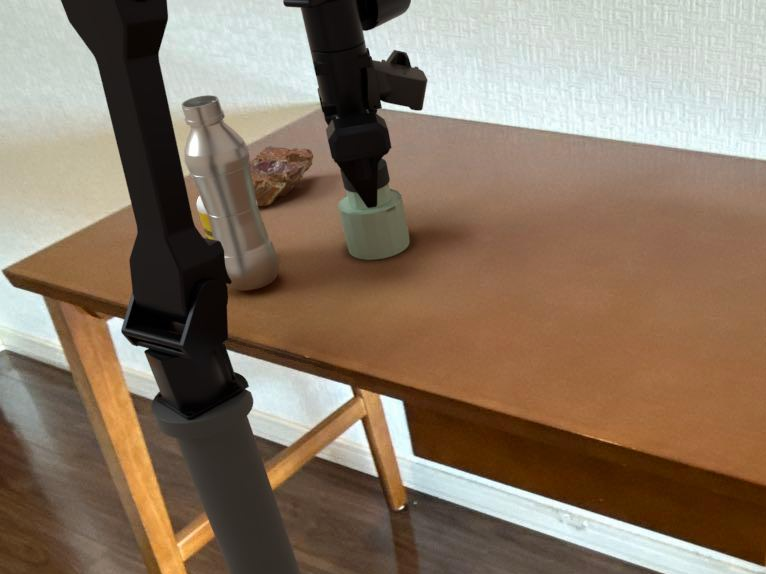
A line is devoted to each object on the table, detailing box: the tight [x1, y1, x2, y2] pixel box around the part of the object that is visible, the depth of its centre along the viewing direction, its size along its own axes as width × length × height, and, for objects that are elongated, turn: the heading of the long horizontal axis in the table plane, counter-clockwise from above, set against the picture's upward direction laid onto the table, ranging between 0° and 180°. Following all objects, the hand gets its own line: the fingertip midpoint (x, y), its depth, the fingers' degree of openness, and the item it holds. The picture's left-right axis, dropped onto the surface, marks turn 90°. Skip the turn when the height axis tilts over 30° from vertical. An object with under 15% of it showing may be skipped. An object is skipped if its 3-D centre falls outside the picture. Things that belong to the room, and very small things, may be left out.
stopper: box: [339, 158, 391, 193], centre depth 115 cm, size 5×5×5 cm
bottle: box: [337, 182, 411, 261], centre depth 117 cm, size 7×7×8 cm
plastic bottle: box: [181, 94, 280, 291], centre depth 108 cm, size 6×7×20 cm
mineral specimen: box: [250, 145, 314, 207], centre depth 133 cm, size 12×8×7 cm
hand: (368, 191), depth 115 cm, fingers open, 9 cm apart
